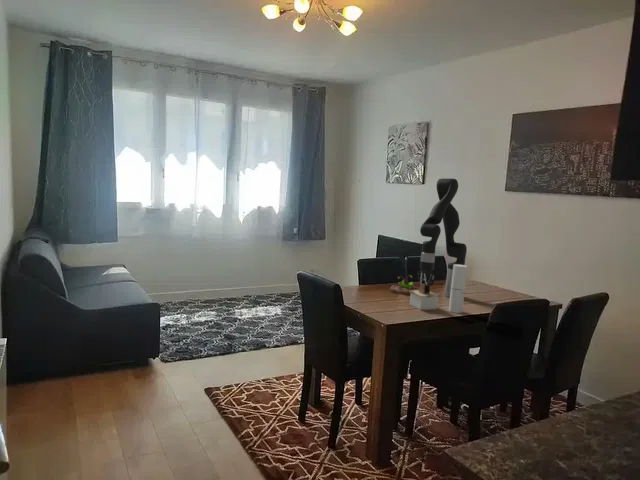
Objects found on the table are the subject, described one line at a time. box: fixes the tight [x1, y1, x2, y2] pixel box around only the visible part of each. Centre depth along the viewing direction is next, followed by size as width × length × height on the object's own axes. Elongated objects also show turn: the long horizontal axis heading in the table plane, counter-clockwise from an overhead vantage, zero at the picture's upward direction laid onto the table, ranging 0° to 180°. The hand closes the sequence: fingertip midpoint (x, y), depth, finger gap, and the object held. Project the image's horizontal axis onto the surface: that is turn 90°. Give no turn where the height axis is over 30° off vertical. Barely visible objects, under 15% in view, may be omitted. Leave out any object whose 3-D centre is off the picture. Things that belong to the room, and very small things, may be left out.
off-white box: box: [409, 293, 439, 311], centre depth 254 cm, size 11×11×7 cm
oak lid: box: [409, 282, 441, 298], centre depth 253 cm, size 12×12×6 cm
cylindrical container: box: [448, 264, 468, 314], centre depth 249 cm, size 7×7×25 cm
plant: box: [388, 274, 420, 296], centre depth 289 cm, size 20×20×11 cm
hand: (424, 291), depth 254 cm, fingers closed on oak lid, 4 cm apart
